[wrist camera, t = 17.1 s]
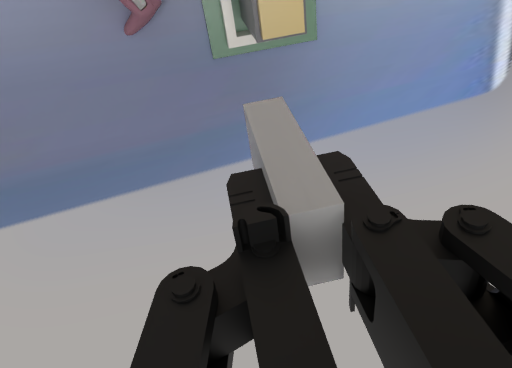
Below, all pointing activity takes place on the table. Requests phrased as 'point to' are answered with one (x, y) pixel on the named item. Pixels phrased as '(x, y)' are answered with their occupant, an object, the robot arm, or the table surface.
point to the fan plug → (274, 18)
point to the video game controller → (139, 14)
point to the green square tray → (245, 29)
